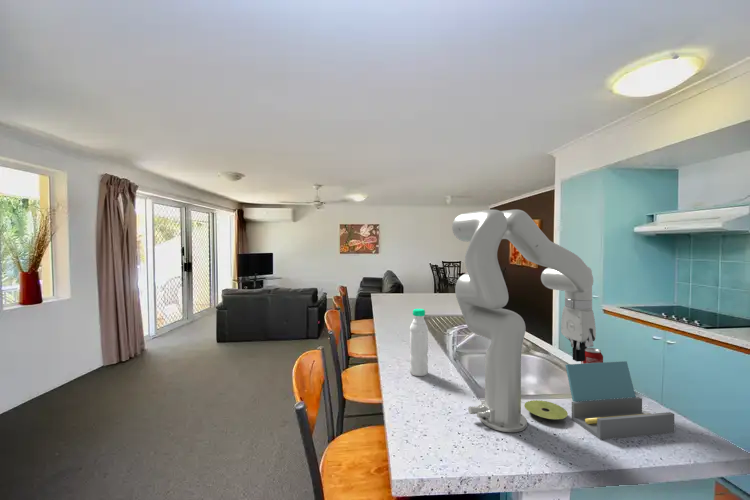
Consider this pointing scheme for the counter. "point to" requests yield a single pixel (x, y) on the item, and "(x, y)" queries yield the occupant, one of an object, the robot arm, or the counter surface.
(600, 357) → the soda can
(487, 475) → the counter surface
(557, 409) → the mat
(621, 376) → the panel
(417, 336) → the water bottle
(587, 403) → the cable duct
